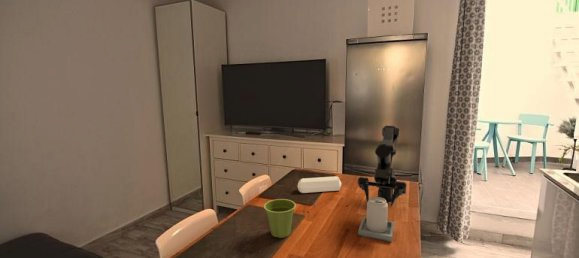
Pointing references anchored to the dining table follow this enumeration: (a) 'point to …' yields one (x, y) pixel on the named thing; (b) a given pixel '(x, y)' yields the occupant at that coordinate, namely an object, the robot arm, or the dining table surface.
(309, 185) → the crystal
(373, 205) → the can
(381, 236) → the tray
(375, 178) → the robot arm
